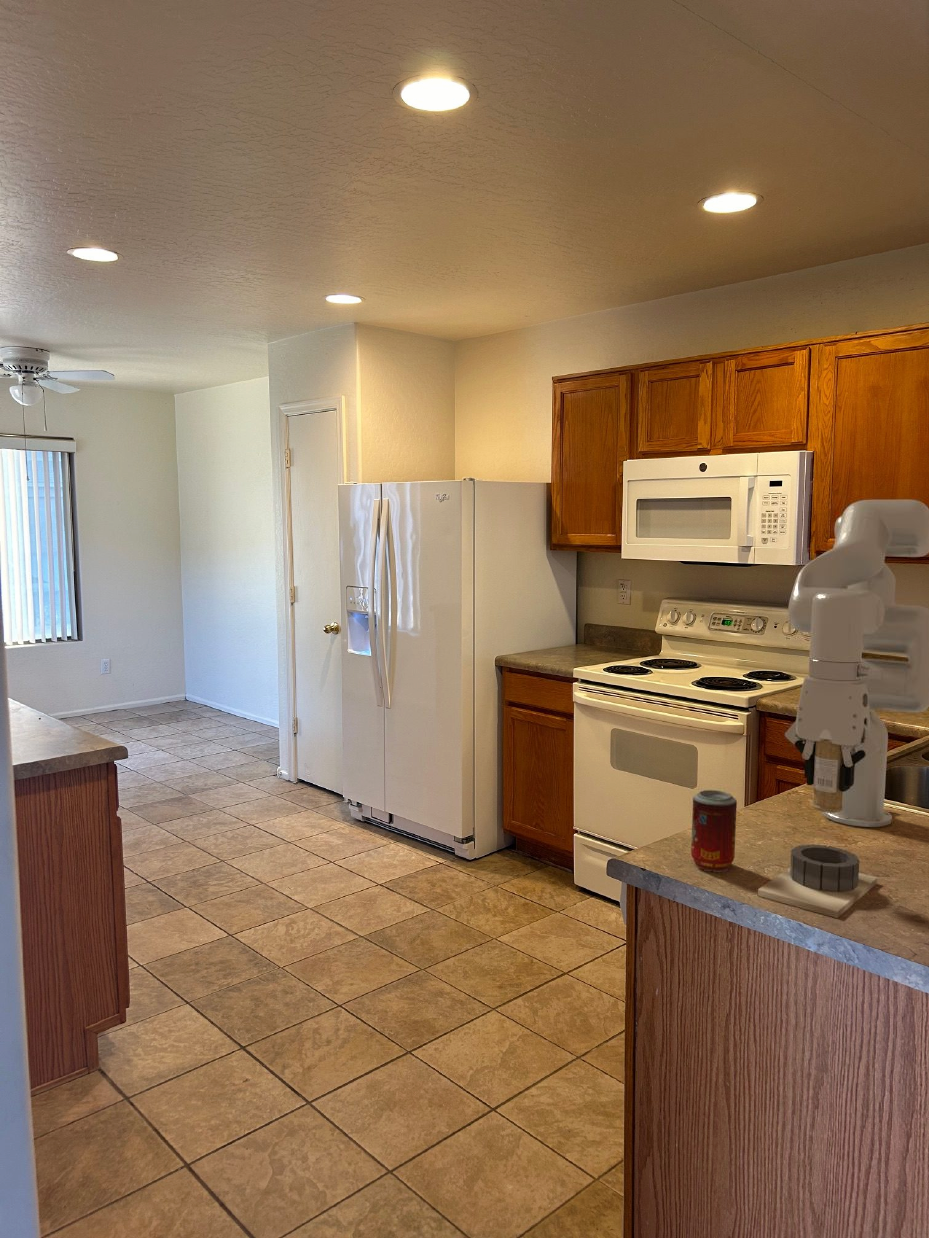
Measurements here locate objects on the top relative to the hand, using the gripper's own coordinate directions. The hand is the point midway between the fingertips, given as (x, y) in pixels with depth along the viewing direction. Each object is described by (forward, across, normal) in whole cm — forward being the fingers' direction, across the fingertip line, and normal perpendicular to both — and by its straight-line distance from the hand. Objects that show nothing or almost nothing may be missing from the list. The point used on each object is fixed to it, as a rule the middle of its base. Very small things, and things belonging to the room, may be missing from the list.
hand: (828, 785), depth 143 cm
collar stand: (+16, 0, +2) cm, 16 cm away
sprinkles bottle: (+4, 0, 0) cm, 4 cm away
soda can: (+17, +17, +4) cm, 24 cm away
